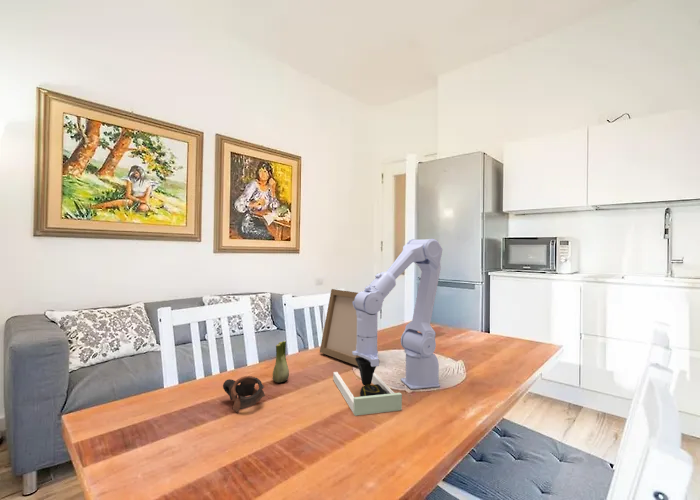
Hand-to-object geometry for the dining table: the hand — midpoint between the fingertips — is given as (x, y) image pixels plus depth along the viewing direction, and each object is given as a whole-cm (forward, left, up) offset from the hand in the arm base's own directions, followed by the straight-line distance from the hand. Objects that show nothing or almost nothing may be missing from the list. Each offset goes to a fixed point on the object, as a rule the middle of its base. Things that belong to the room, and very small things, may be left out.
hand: (366, 384), depth 98 cm
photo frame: (-6, -35, -4) cm, 36 cm away
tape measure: (-1, +4, -4) cm, 5 cm away
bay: (0, -2, -3) cm, 4 cm away
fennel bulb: (+22, -17, -4) cm, 28 cm away
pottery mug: (+33, -3, -4) cm, 33 cm away
